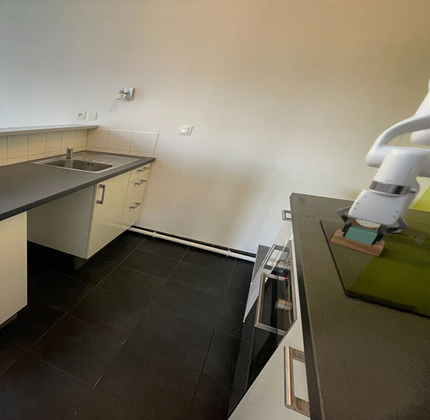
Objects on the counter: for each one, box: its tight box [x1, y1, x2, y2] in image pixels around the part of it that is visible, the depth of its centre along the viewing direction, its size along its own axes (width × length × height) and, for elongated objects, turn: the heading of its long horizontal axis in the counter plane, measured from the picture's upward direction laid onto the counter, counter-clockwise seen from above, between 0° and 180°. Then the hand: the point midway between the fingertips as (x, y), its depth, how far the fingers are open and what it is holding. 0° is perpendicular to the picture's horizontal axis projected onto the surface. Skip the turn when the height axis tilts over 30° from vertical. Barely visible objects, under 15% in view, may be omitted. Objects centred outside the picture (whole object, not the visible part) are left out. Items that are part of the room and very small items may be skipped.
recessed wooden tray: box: [329, 228, 385, 257], centre depth 85 cm, size 11×11×2 cm
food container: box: [352, 219, 388, 231], centre depth 94 cm, size 12×6×10 cm, turn 168°
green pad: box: [345, 225, 378, 245], centre depth 84 cm, size 6×6×4 cm
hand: (358, 237), depth 84 cm, fingers closed on green pad, 5 cm apart
